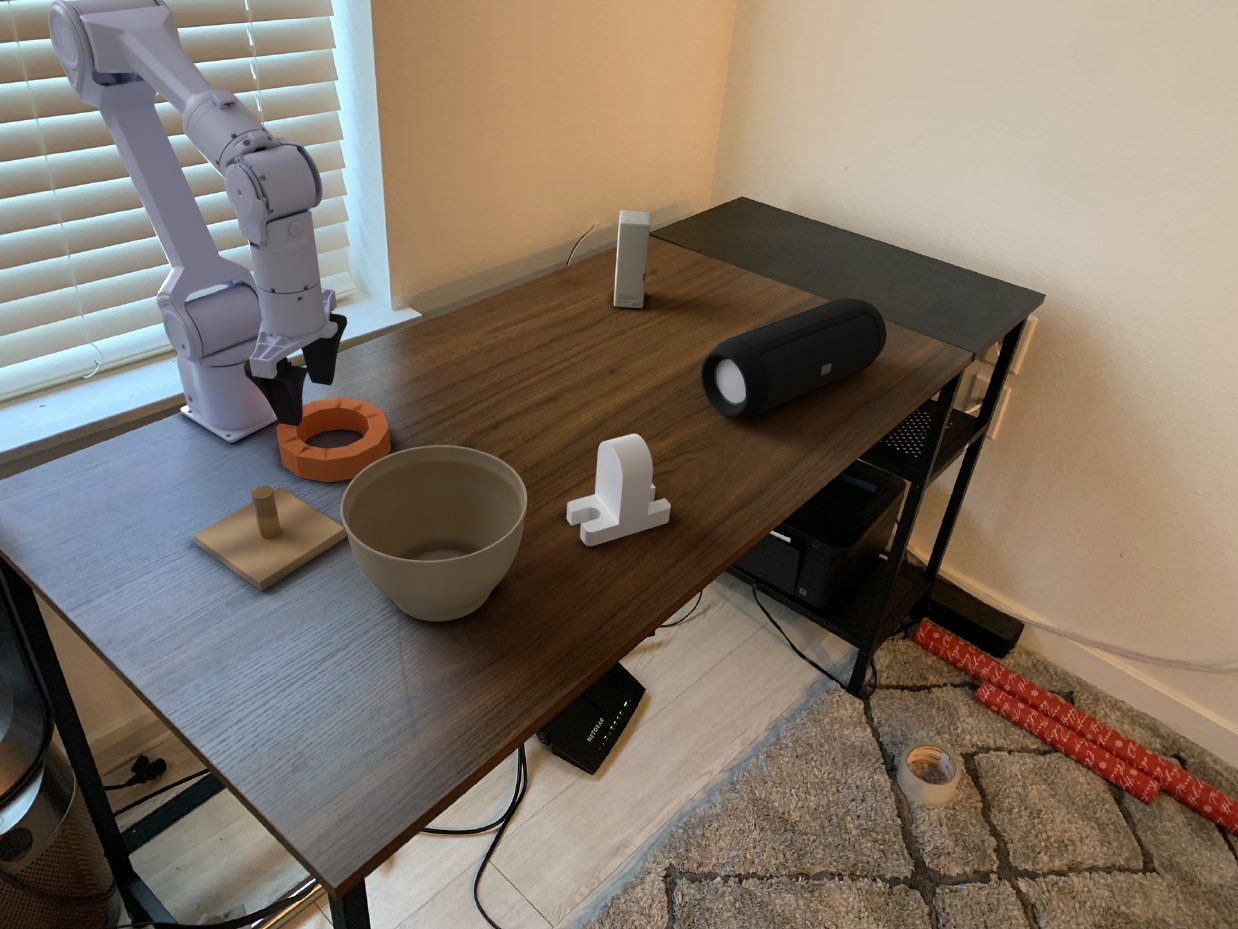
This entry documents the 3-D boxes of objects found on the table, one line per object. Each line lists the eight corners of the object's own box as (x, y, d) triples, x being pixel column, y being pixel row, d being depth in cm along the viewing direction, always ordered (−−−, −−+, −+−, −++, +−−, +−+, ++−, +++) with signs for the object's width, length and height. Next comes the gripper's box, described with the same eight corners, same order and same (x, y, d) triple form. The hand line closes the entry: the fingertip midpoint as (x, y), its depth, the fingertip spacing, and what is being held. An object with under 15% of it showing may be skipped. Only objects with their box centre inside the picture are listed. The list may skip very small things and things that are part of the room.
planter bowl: (446, 509, 98) (442, 423, 92) (561, 585, 90) (564, 497, 84) (316, 588, 88) (301, 498, 81) (433, 681, 80) (426, 590, 74)
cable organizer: (671, 521, 99) (681, 445, 93) (587, 547, 95) (592, 469, 89) (646, 492, 103) (654, 417, 97) (564, 516, 99) (568, 438, 93)
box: (643, 309, 136) (651, 225, 129) (612, 307, 136) (619, 223, 129) (643, 293, 141) (650, 210, 133) (613, 291, 140) (619, 208, 133)
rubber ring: (308, 413, 110) (305, 391, 108) (404, 428, 109) (402, 406, 107) (262, 472, 101) (257, 449, 99) (366, 489, 100) (363, 466, 98)
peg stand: (195, 544, 91) (182, 495, 88) (280, 495, 98) (271, 447, 94) (261, 591, 87) (250, 541, 83) (346, 537, 94) (339, 488, 90)
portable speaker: (746, 439, 112) (759, 367, 106) (690, 400, 118) (700, 330, 112) (881, 378, 126) (900, 311, 120) (826, 346, 132) (841, 281, 126)
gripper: (295, 322, 81) (314, 449, 89) (359, 253, 93) (371, 371, 101) (217, 310, 82) (244, 437, 90) (291, 244, 93) (308, 361, 101)
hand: (306, 402), depth 95 cm, fingers open, 7 cm apart
